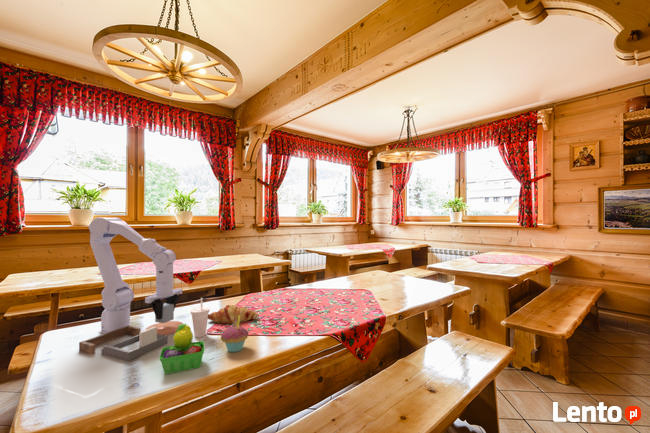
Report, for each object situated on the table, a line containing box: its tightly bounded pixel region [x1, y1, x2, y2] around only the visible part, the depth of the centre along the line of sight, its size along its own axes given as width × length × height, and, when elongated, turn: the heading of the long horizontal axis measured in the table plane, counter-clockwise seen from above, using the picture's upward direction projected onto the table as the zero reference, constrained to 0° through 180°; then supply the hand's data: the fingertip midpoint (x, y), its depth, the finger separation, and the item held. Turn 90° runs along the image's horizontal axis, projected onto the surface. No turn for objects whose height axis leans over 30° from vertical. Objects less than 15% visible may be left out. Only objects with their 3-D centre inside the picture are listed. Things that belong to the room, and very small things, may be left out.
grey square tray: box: [101, 327, 168, 362], centre depth 93 cm, size 13×13×7 cm
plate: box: [144, 320, 184, 336], centre depth 109 cm, size 13×13×1 cm
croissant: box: [208, 304, 259, 325], centre depth 119 cm, size 21×10×8 cm, turn 99°
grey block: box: [154, 302, 175, 323], centre depth 109 cm, size 4×4×6 cm
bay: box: [78, 325, 141, 355], centre depth 97 cm, size 6×16×3 cm, turn 158°
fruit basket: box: [158, 323, 205, 375], centre depth 82 cm, size 11×9×11 cm
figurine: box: [230, 318, 237, 327], centre depth 105 cm, size 5×4×6 cm
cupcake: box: [220, 314, 249, 353], centre depth 93 cm, size 9×8×12 cm
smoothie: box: [190, 297, 210, 338], centre depth 103 cm, size 6×6×14 cm
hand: (164, 316), depth 109 cm, fingers closed on grey block, 4 cm apart
